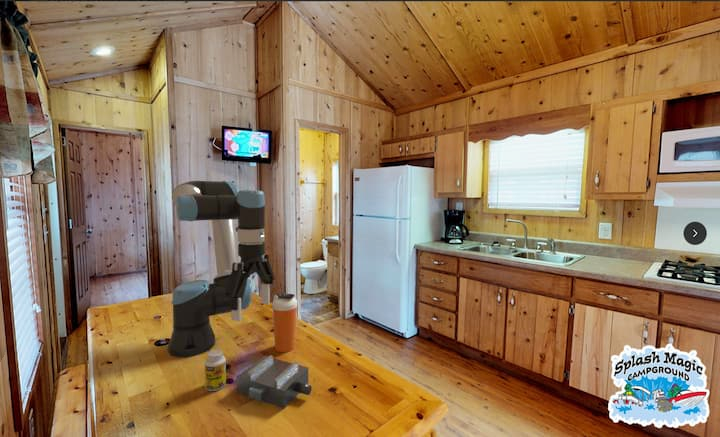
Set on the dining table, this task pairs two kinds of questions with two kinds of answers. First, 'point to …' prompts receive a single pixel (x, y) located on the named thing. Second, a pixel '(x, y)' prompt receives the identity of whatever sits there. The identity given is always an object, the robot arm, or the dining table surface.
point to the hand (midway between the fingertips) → (251, 311)
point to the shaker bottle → (284, 321)
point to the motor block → (274, 381)
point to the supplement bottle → (215, 370)
